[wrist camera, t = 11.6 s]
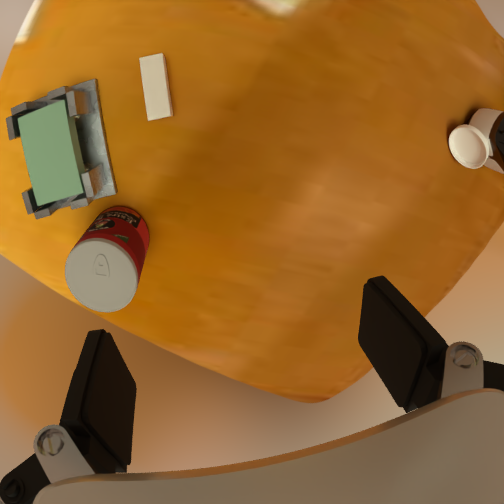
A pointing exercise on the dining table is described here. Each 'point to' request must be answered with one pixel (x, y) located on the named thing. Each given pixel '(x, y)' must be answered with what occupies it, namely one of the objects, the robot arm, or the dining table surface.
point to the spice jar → (480, 140)
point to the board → (52, 152)
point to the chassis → (90, 141)
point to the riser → (156, 86)
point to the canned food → (108, 260)
